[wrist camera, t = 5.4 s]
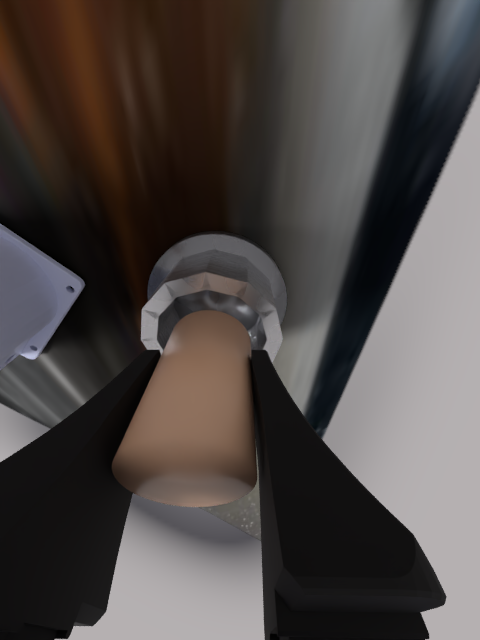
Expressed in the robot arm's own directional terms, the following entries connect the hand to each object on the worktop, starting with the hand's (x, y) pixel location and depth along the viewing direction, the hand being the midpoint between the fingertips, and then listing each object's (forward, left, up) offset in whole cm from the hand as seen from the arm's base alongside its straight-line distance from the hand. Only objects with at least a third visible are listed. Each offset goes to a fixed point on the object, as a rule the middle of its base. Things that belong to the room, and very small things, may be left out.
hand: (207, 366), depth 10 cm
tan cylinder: (0, 0, -2) cm, 2 cm away
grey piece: (0, 0, -6) cm, 6 cm away
